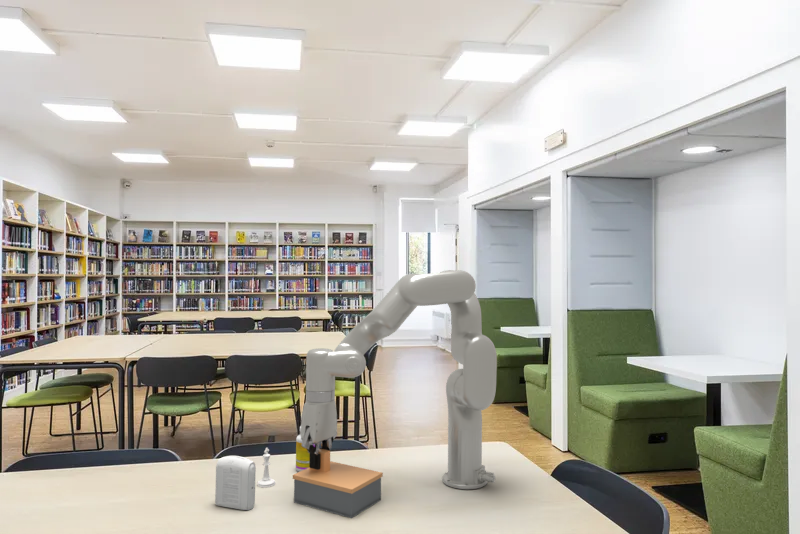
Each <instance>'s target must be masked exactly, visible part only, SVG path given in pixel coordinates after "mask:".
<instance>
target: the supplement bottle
mask: <svg viewBox="0 0 800 534" xmlns="http://www.w3.org/2000/svg"><path fill="white" fill-rule="evenodd" d="M295 441H296V442H295V446H296V447H295V470H296V471H297V473H298V472H300V471H303V470H305V469H307V468H309V455H310V453H308V450H307V449H306V448H304V447H302V442H303V441H302V440H301V425H300V426H299V434H298V435H297V436H296V440H295ZM313 446H314V447H315V444H313Z"/></svg>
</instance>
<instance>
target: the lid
mask: <svg viewBox="0 0 800 534" xmlns="http://www.w3.org/2000/svg"><path fill="white" fill-rule="evenodd" d="M329 450H330V449H329ZM329 450H324V449H319V454H320V469H319V470H317V469H313V468H310V467H309V468H307V469H305V470H303V471H300V472H298V471H297V472H296V473H294V474H292V479H293V480H294V479H295V480H299V481H303V482H307V483H311V484H315V485H319V486H323V487H327V488H331V489H335V490H339V491H343V492H347V493H351V494H352V493H354V492H356V491H358V490H360V489H361V488H363V487H365V486H367V485H369V484H370V483H372V482H374V481H376V480H377V479H379V478H381V479H382V478H383V477H384V476H383V475H384V474H383V473H384V472H382V471H376V470H373V469H368V468H364V467H359V466H354V465H349V464H345V463H340V462H337V461H331V450H330V451H329Z"/></svg>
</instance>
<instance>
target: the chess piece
mask: <svg viewBox="0 0 800 534" xmlns="http://www.w3.org/2000/svg"><path fill="white" fill-rule="evenodd" d="M269 451H270V449H269V447H265V450H264V451H263V453H264V454H263V455H262V458H263V461H264V462H262V465H263V466H264V467H263V468H264V470H263V476H262V478H261V479H259V480H258V481H257V482H256V483H257V484H256V485H257V486H258V487H259V488H270V486H271V487H273V486H275V485H276V480H275V479H274V478H272V477H270V471H269V469H270V468H269V466H270V465H271V462H270V458H271V454H270V453H269Z"/></svg>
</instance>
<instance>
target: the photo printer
mask: <svg viewBox="0 0 800 534" xmlns="http://www.w3.org/2000/svg"><path fill="white" fill-rule="evenodd" d="M256 469H257V468H256V462H254V461H253V460H252V459H249V458H246V457H244V456H239V455H226V456H223V457H221V458H218V460H217V461H216V466H215V494H214V496H215V497H214V504H215V505H216V506H219V507H224V508H229V509H236V510H242V511H249V510H252V509H253V508H254V507H255V503H256V472H257V471H256Z"/></svg>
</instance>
